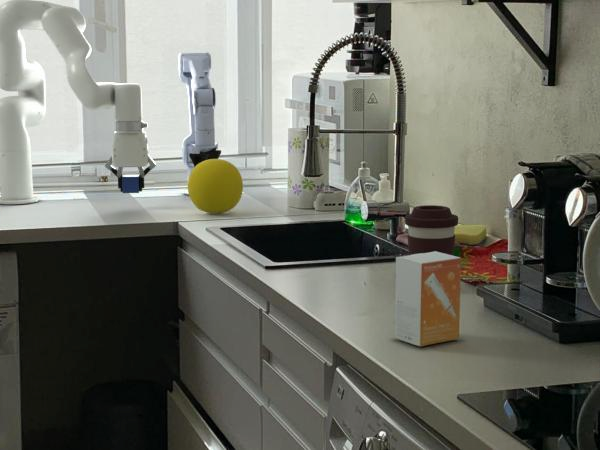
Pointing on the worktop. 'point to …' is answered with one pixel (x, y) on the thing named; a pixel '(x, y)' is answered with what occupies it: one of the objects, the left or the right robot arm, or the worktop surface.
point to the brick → (130, 183)
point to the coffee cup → (431, 230)
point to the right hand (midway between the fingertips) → (205, 175)
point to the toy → (215, 186)
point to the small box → (427, 298)
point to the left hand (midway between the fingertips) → (131, 190)
